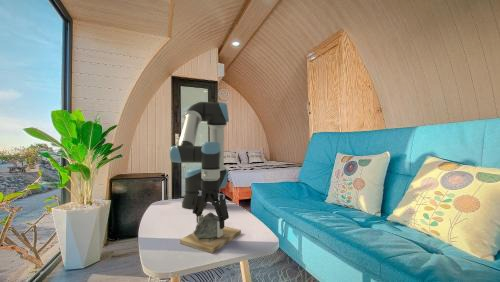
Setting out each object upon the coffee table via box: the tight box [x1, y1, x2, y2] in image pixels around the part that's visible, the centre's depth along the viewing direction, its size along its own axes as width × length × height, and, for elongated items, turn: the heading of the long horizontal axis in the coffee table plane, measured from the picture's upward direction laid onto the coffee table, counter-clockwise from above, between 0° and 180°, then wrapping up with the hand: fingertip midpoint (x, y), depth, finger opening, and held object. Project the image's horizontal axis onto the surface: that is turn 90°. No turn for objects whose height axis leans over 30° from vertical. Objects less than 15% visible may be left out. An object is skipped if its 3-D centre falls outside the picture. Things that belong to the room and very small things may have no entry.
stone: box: [192, 212, 219, 239], centre depth 90 cm, size 10×10×10 cm
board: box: [179, 225, 242, 254], centre depth 91 cm, size 20×16×2 cm
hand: (209, 233), depth 90 cm, fingers closed on stone, 10 cm apart
